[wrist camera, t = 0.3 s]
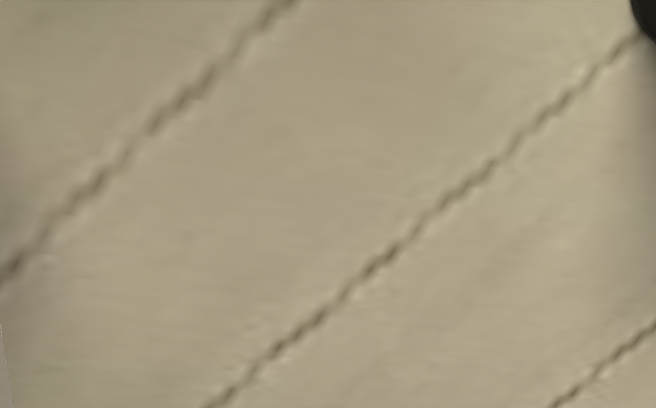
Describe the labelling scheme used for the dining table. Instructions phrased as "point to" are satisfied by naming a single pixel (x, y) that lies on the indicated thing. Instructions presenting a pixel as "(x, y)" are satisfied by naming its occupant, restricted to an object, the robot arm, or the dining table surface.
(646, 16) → the milk frother
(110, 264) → the dining table surface
